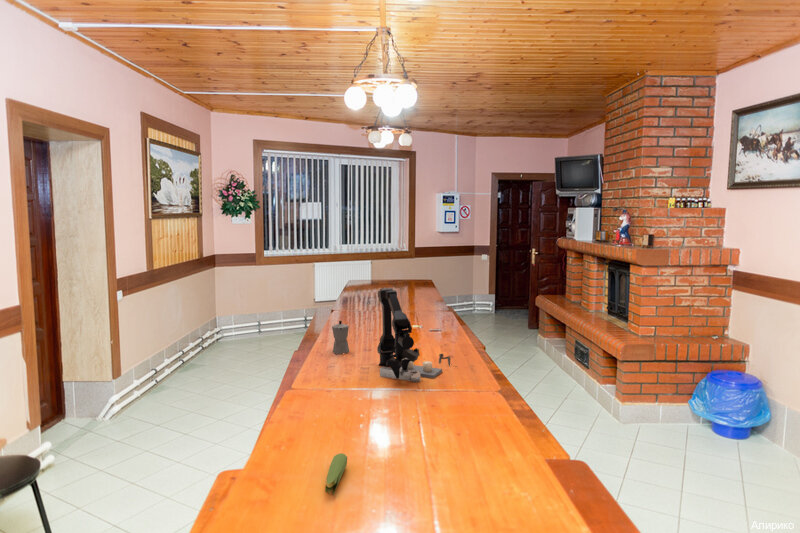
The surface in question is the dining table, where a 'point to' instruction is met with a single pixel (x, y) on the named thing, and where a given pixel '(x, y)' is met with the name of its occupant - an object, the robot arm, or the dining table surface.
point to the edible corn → (335, 472)
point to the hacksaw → (444, 358)
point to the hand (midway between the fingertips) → (401, 376)
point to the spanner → (401, 374)
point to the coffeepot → (340, 338)
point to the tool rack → (425, 369)
